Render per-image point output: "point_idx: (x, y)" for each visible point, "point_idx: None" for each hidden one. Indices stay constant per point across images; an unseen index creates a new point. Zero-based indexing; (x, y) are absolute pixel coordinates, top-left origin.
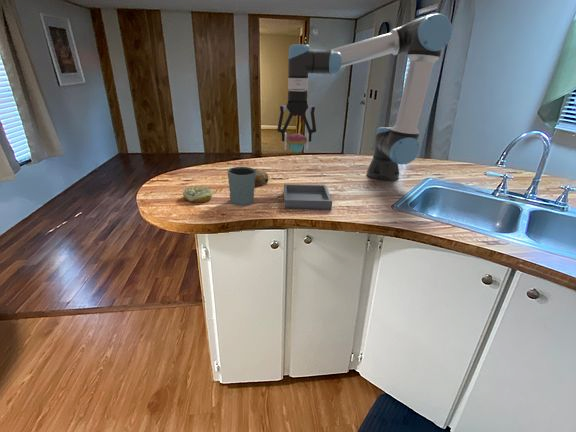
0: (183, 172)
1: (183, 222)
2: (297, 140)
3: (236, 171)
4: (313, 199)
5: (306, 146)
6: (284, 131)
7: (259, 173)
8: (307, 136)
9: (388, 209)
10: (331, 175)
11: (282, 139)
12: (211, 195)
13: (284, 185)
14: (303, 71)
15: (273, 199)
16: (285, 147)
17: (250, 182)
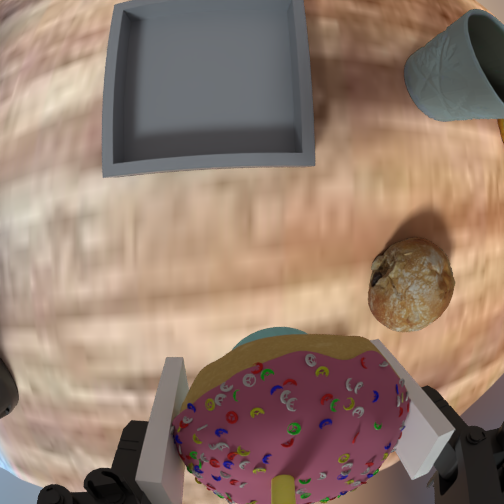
0: None
1: (486, 11)
2: (299, 360)
3: None
4: (175, 72)
5: (178, 378)
6: (469, 446)
7: (424, 269)
8: (156, 458)
9: None
10: (106, 388)
11: (434, 396)
12: (502, 119)
13: (312, 144)
14: None
15: (341, 87)
16: (380, 351)
17: (450, 25)
